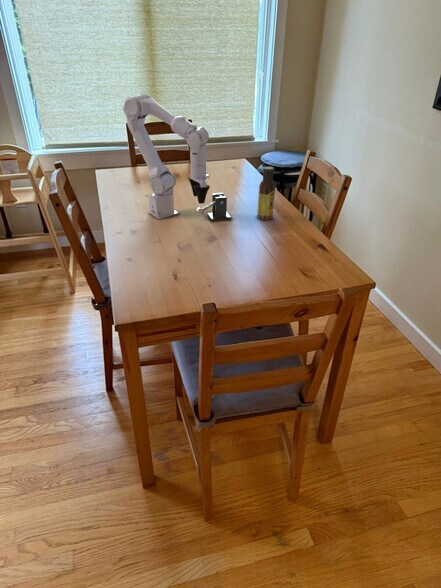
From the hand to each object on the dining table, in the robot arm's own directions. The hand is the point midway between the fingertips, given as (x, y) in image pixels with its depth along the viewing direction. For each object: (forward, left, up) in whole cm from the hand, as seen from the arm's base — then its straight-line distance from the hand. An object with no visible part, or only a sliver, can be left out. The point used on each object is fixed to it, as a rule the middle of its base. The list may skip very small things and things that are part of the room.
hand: (198, 199), depth 156 cm
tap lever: (+4, -2, -4) cm, 6 cm away
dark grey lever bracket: (+8, -3, -8) cm, 12 cm away
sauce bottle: (+23, -14, -9) cm, 28 cm away
